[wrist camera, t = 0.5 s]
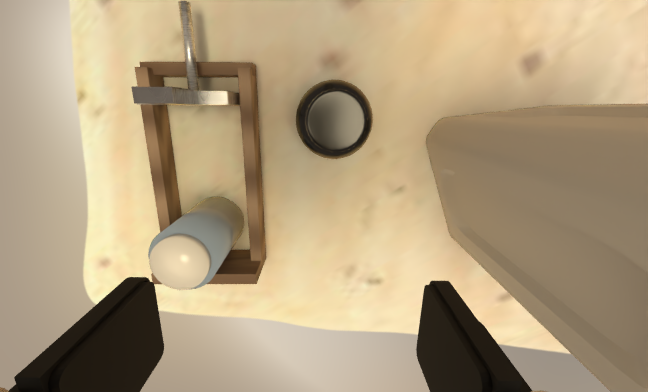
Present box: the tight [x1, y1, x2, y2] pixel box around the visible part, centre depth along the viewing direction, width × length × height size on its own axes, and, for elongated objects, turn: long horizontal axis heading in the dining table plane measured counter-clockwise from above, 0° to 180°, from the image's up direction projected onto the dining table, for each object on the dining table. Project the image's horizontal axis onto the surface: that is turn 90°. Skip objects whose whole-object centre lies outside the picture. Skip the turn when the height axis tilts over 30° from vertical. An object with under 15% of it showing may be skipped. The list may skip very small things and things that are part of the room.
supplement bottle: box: [296, 80, 373, 159], centre depth 29 cm, size 7×7×12 cm
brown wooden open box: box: [135, 62, 266, 284], centre depth 33 cm, size 23×11×6 cm, turn 0°
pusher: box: [132, 1, 240, 106], centre depth 27 cm, size 9×8×11 cm
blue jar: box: [149, 197, 244, 290], centre depth 32 cm, size 6×6×11 cm
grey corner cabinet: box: [426, 104, 648, 392], centre depth 23 cm, size 19×15×28 cm
